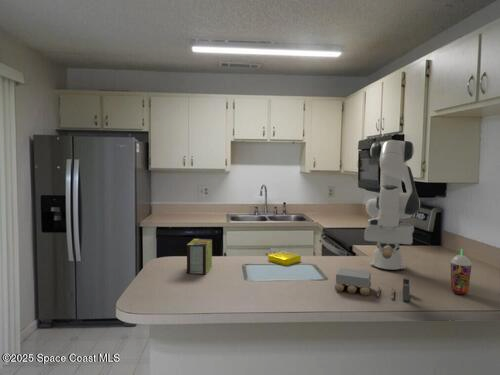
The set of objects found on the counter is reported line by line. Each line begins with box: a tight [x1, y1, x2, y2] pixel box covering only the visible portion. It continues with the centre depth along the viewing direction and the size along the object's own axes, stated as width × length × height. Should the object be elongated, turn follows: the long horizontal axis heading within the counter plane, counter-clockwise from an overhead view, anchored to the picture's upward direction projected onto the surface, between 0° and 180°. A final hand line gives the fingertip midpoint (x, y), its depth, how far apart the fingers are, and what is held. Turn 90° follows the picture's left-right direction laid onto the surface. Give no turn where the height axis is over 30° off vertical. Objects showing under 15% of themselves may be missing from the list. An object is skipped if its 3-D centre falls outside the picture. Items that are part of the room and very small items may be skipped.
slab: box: [335, 267, 372, 288], centre depth 163 cm, size 12×14×4 cm
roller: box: [382, 245, 392, 259], centre depth 158 cm, size 12×4×4 cm, turn 157°
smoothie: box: [449, 248, 473, 295], centre depth 162 cm, size 8×8×20 cm
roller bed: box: [334, 281, 395, 301], centre depth 161 cm, size 12×25×4 cm, turn 67°
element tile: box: [267, 250, 302, 267], centre depth 211 cm, size 15×15×5 cm
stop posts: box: [402, 277, 411, 303], centre depth 154 cm, size 11×2×7 cm, turn 157°
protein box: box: [186, 238, 213, 275], centre depth 191 cm, size 10×15×16 cm
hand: (387, 252), depth 158 cm, fingers closed on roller, 4 cm apart
